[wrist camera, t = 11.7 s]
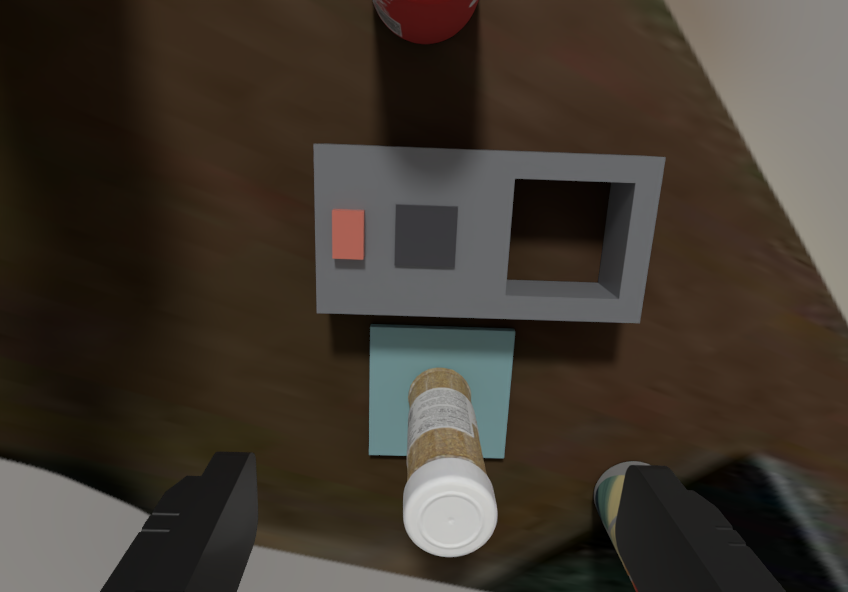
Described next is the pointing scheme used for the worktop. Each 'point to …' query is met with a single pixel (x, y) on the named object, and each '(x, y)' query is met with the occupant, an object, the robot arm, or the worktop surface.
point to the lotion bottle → (612, 499)
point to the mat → (438, 348)
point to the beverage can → (425, 18)
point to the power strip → (468, 233)
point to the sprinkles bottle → (446, 468)
